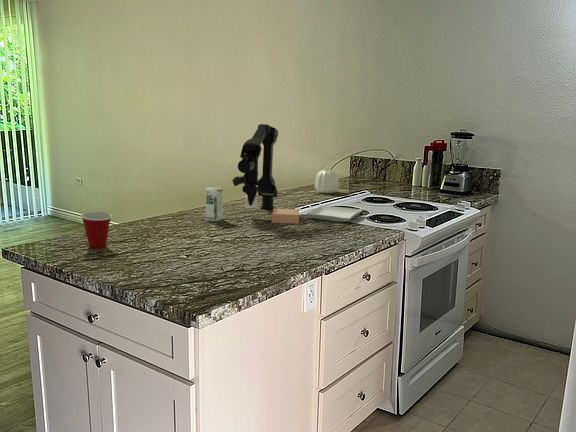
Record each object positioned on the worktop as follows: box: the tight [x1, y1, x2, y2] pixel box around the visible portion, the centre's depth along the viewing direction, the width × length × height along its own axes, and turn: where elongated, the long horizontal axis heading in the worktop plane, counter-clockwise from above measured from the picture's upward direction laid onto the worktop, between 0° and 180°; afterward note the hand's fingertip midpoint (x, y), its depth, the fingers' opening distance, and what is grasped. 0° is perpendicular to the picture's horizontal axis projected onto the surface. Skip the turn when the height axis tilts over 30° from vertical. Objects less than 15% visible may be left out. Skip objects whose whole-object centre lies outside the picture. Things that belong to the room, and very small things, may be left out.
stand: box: [271, 208, 300, 225], centre depth 260 cm, size 12×12×4 cm
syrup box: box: [205, 186, 224, 222], centre depth 256 cm, size 6×6×14 cm
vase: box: [314, 168, 340, 195], centre depth 333 cm, size 14×14×13 cm
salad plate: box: [306, 205, 363, 223], centre depth 269 cm, size 21×21×3 cm
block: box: [244, 194, 258, 209], centre depth 261 cm, size 5×5×5 cm
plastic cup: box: [80, 211, 113, 249], centre depth 209 cm, size 11×11×12 cm
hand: (251, 204), depth 261 cm, fingers closed on block, 5 cm apart
